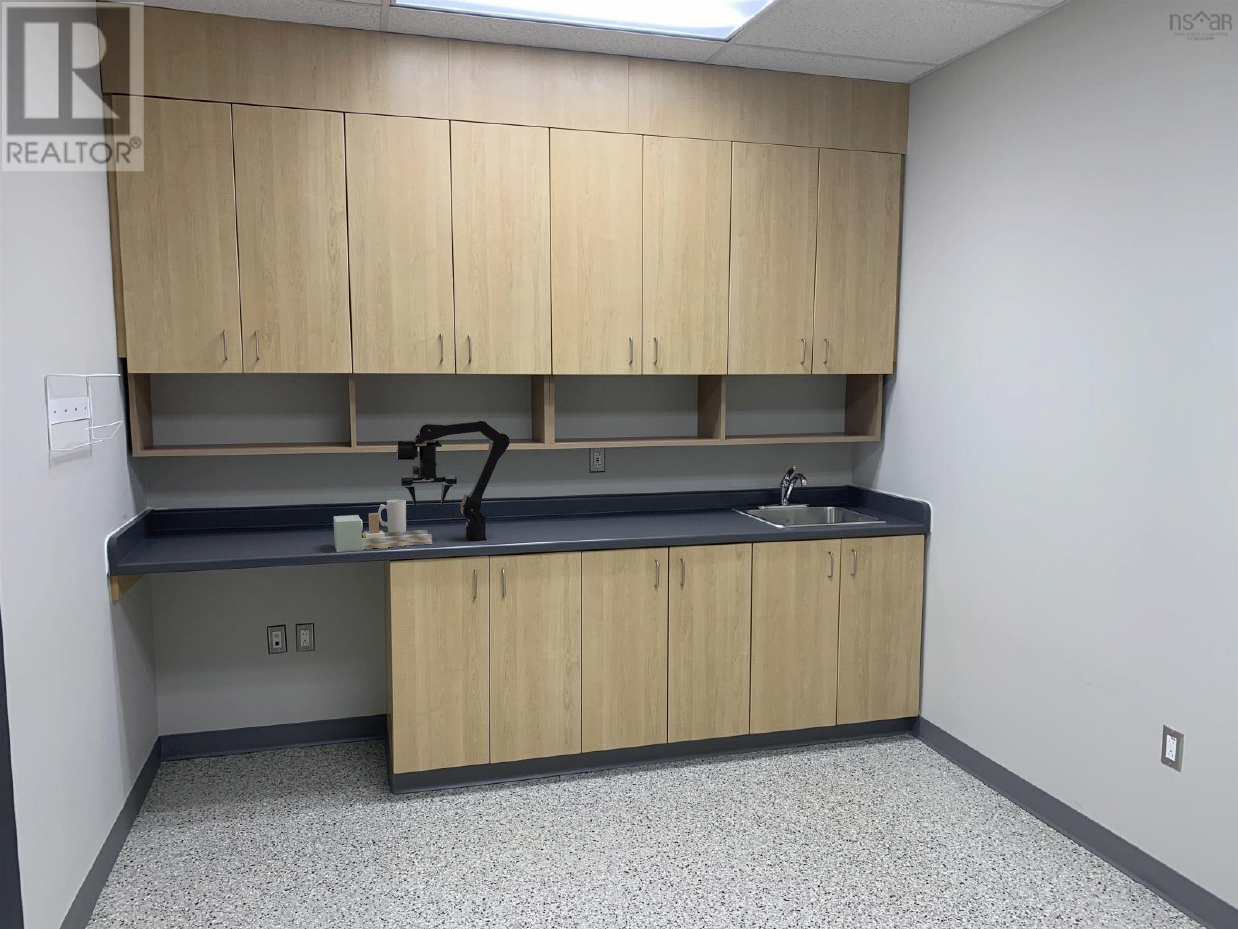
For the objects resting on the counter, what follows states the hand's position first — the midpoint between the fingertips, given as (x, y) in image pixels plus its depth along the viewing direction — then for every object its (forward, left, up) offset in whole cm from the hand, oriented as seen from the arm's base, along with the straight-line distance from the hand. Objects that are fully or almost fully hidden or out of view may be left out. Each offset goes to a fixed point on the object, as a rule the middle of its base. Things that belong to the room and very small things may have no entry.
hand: (428, 505), depth 288 cm
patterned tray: (+11, 0, -13) cm, 17 cm away
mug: (+10, -21, -13) cm, 27 cm away
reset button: (+24, 0, -11) cm, 27 cm away
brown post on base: (+18, 0, -11) cm, 22 cm away
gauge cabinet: (+27, 0, -13) cm, 30 cm away
